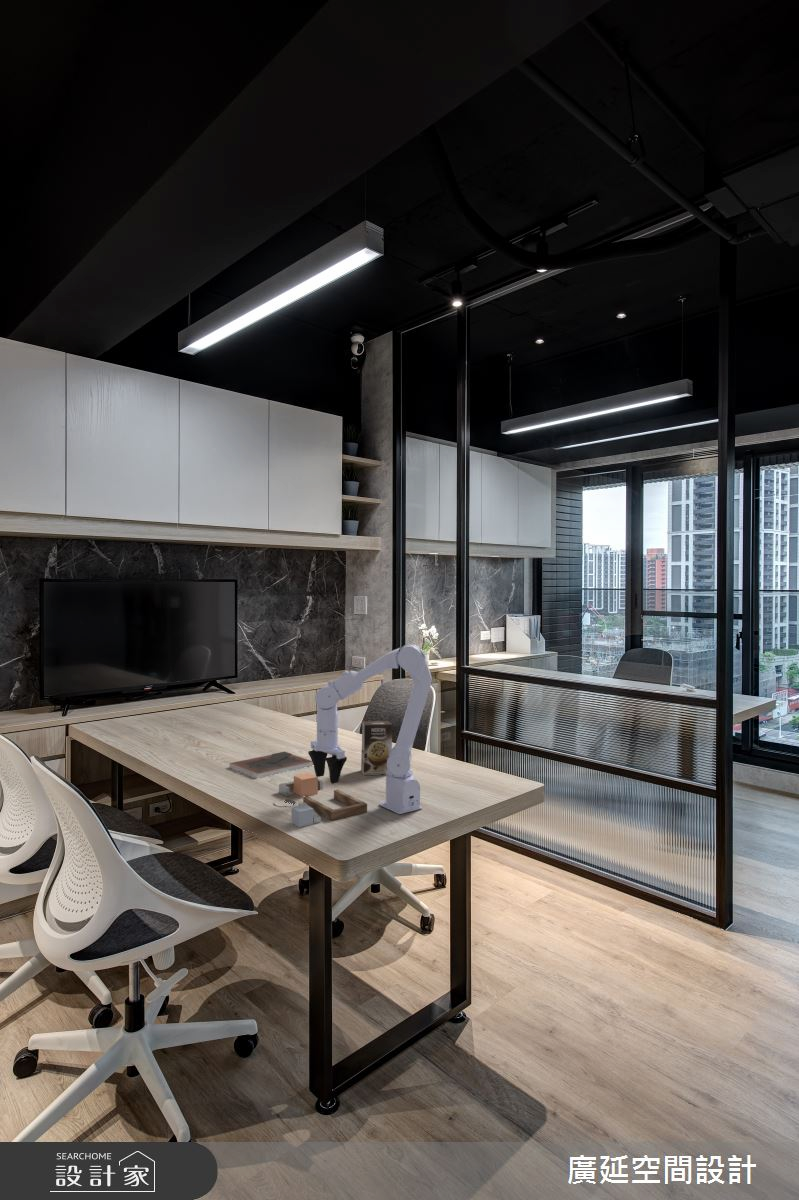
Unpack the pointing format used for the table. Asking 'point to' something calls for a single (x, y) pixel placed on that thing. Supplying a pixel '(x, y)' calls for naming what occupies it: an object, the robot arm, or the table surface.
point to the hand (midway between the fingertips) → (327, 779)
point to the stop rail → (289, 787)
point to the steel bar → (314, 815)
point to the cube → (305, 784)
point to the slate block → (302, 815)
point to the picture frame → (270, 764)
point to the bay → (352, 809)
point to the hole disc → (290, 801)
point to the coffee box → (375, 746)
